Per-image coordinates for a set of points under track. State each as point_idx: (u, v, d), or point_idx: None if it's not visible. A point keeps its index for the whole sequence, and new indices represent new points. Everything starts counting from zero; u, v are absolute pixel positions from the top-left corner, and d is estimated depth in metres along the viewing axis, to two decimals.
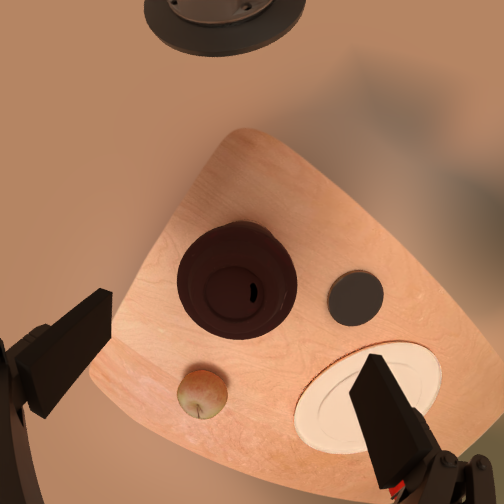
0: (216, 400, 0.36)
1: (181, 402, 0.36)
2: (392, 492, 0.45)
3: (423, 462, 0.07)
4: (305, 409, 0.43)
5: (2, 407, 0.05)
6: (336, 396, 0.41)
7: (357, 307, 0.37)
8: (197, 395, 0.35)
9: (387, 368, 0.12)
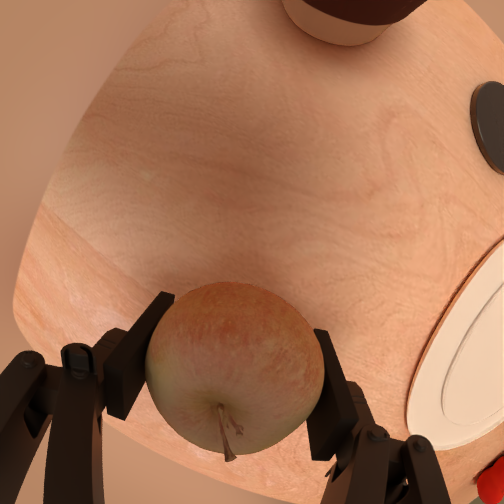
0: (304, 380, 0.09)
1: (156, 395, 0.09)
2: (486, 494, 0.21)
3: (351, 434, 0.08)
4: (431, 367, 0.20)
5: (85, 417, 0.06)
6: (481, 331, 0.19)
7: None
8: (223, 361, 0.08)
9: (329, 342, 0.13)
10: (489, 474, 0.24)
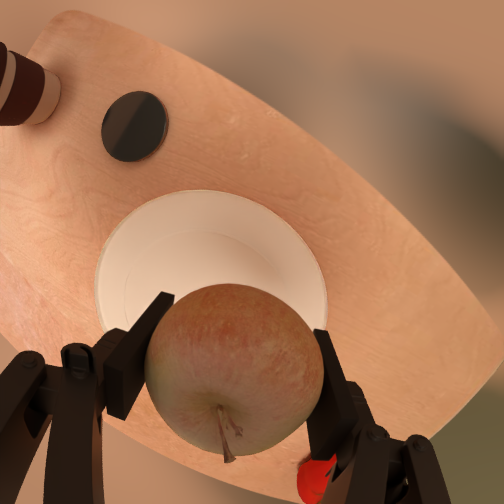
0: (303, 382, 0.09)
1: (156, 397, 0.09)
2: (298, 488, 0.35)
3: (351, 434, 0.08)
4: (110, 303, 0.33)
5: (85, 417, 0.06)
6: (137, 281, 0.31)
7: (133, 134, 0.27)
8: (222, 363, 0.08)
9: (329, 342, 0.13)
10: (304, 467, 0.37)
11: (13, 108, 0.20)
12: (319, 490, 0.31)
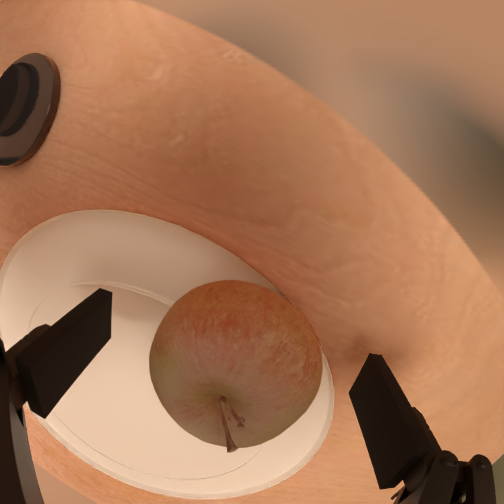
0: (303, 373, 0.09)
1: (161, 389, 0.10)
2: None
3: (423, 462, 0.07)
4: None
5: (2, 407, 0.05)
6: None
7: (12, 121, 0.12)
8: (225, 353, 0.09)
9: (387, 368, 0.12)
10: None
11: None
12: None
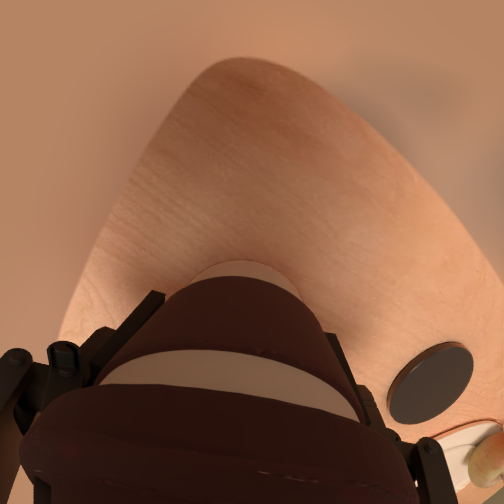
0: None
1: (490, 478, 0.15)
2: None
3: None
4: None
5: None
6: None
7: (432, 398, 0.18)
8: None
9: (338, 346, 0.13)
10: None
11: None
12: None
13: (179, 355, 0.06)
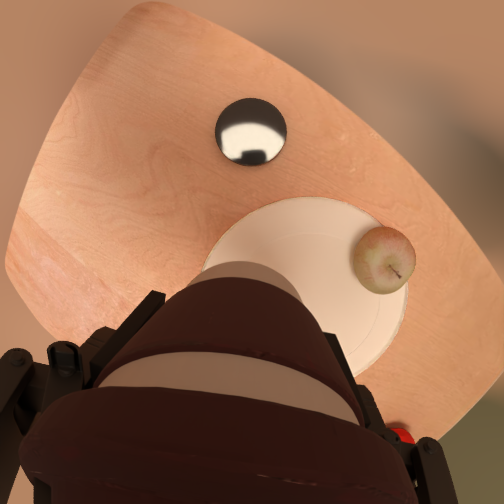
0: (414, 253, 0.28)
1: (371, 262, 0.28)
2: None
3: None
4: None
5: None
6: None
7: (252, 139, 0.31)
8: (396, 244, 0.27)
9: (338, 345, 0.13)
10: None
11: None
12: None
13: (178, 357, 0.06)
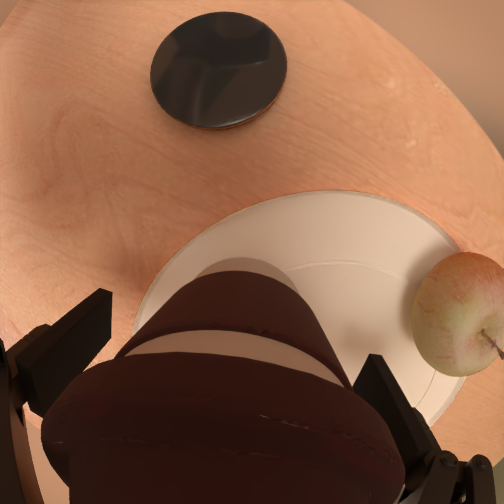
0: None
1: (458, 331, 0.11)
2: None
3: (423, 462, 0.07)
4: None
5: (2, 407, 0.05)
6: None
7: (218, 78, 0.14)
8: (502, 291, 0.10)
9: (387, 368, 0.12)
10: None
11: None
12: None
13: (190, 334, 0.07)
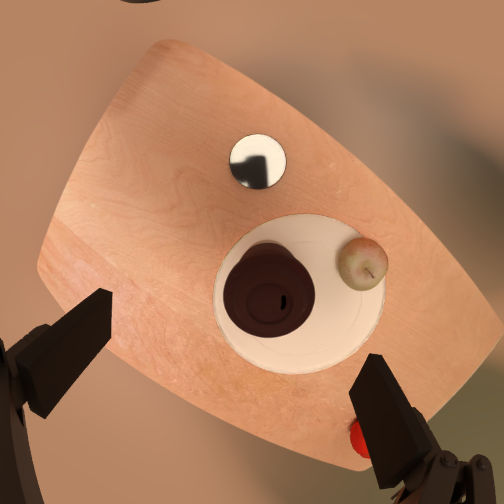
0: (386, 258, 0.37)
1: (351, 266, 0.37)
2: (353, 442, 0.47)
3: (423, 462, 0.07)
4: None
5: (2, 407, 0.05)
6: None
7: (259, 168, 0.40)
8: (371, 251, 0.36)
9: (387, 368, 0.12)
10: (356, 424, 0.50)
11: None
12: None
13: None
